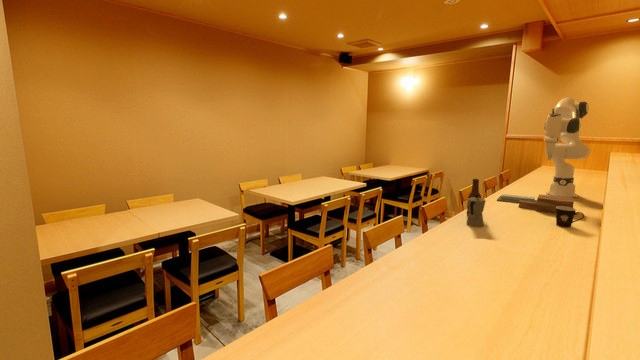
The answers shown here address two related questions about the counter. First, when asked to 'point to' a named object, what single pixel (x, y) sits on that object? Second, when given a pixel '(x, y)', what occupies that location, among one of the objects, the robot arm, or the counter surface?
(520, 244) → the counter surface
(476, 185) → the beer bottle
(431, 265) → the counter surface
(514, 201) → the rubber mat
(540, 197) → the walnut case
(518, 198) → the cover plate
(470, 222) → the coffeepot
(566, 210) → the coffee mug
